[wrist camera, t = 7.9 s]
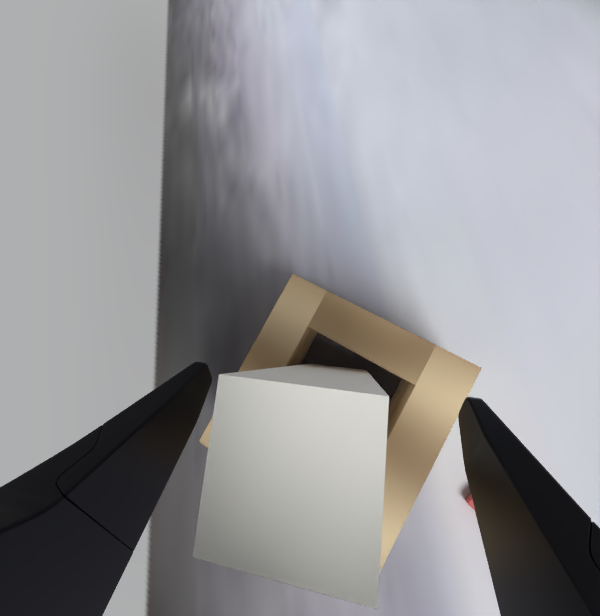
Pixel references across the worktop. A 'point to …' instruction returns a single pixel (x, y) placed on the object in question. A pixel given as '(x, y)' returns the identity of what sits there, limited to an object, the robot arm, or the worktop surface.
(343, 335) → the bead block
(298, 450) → the white rectangular block
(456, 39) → the worktop surface
